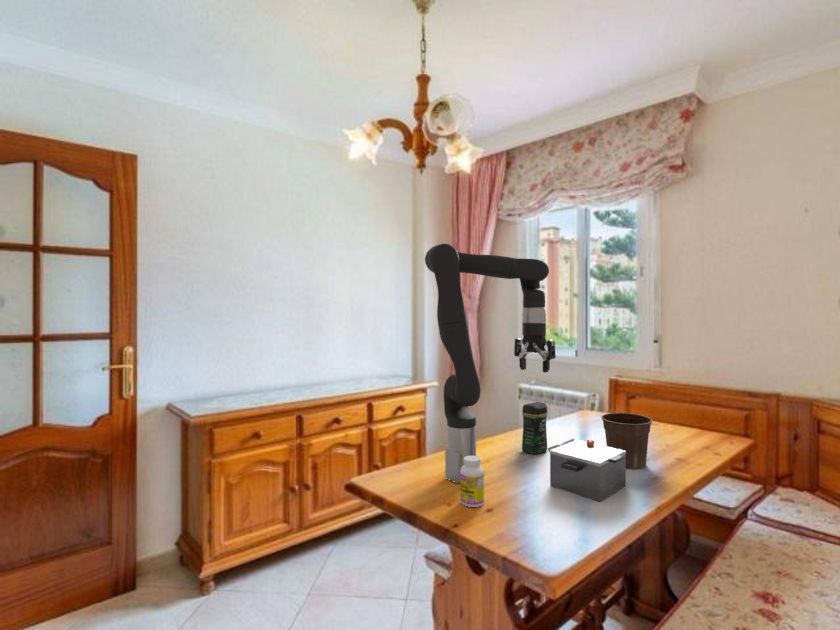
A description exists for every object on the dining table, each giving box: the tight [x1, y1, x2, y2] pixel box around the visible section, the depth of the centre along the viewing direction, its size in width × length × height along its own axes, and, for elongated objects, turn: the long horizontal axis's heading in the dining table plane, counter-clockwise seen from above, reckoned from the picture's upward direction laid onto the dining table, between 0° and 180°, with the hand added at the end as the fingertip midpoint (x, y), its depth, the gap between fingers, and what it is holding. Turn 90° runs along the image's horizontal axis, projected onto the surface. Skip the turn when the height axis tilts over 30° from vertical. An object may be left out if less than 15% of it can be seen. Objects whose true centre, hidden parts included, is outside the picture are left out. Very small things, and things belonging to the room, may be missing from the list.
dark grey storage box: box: [549, 453, 627, 503], centre depth 141 cm, size 22×16×10 cm
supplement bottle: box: [459, 455, 485, 508], centre depth 130 cm, size 7×7×13 cm
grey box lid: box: [547, 438, 626, 467], centre depth 141 cm, size 16×19×2 cm
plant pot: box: [600, 412, 653, 470], centre depth 161 cm, size 16×16×16 cm
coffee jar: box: [521, 401, 548, 455], centre depth 176 cm, size 10×8×19 cm
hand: (534, 370), depth 151 cm, fingers open, 8 cm apart
